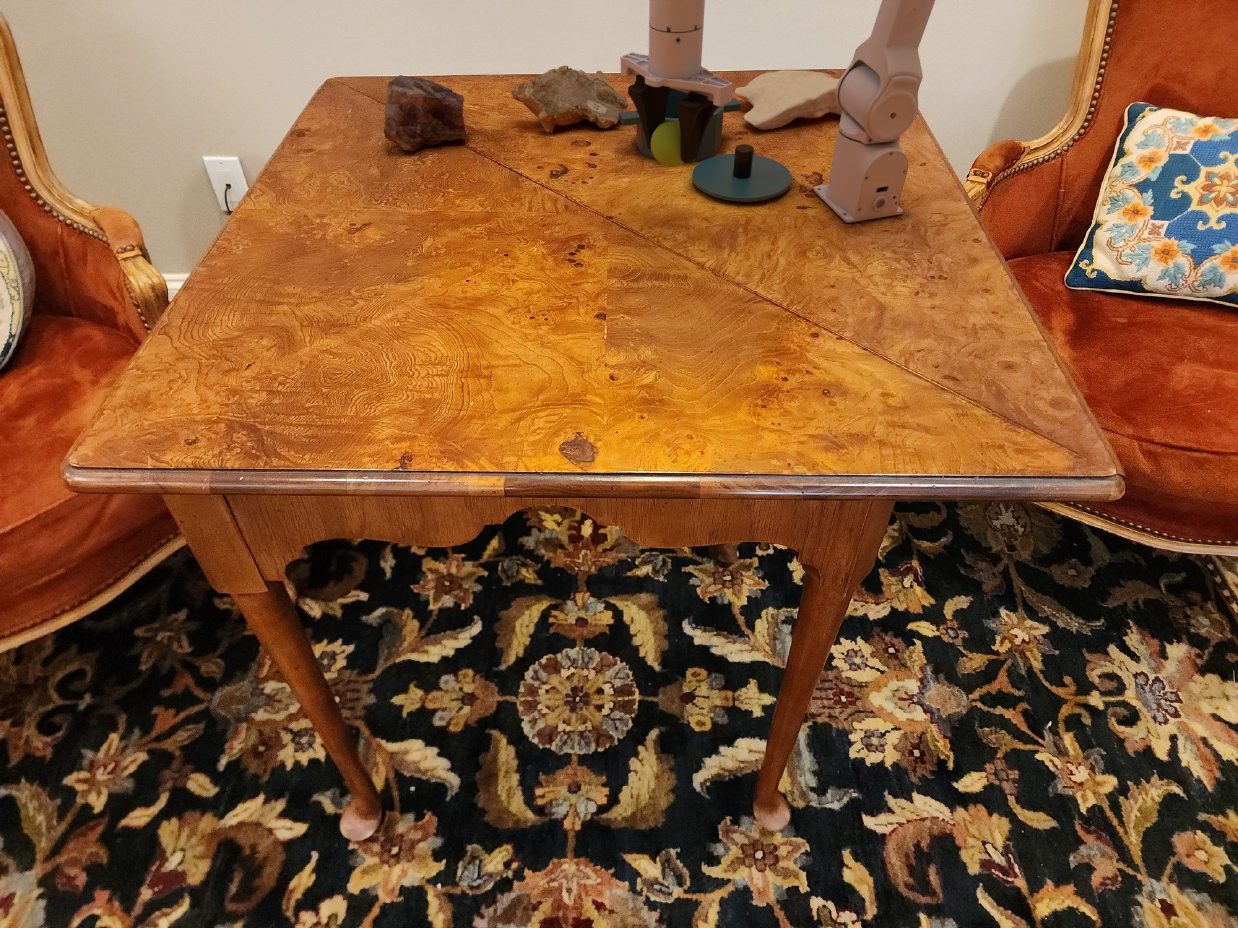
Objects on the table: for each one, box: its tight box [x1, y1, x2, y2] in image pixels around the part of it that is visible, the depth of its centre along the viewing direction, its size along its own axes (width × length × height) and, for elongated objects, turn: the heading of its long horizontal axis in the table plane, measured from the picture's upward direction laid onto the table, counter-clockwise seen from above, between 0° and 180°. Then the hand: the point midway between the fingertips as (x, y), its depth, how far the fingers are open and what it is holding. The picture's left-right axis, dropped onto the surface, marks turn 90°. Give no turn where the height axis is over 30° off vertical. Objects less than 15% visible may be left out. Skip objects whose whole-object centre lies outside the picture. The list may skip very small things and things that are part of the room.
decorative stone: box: [734, 69, 842, 131], centre depth 118 cm, size 21×5×15 cm
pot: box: [618, 88, 742, 164], centre depth 109 cm, size 12×18×6 cm
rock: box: [383, 74, 467, 152], centre depth 110 cm, size 12×9×10 cm
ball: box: [651, 120, 684, 168], centre depth 88 cm, size 5×5×5 cm
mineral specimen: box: [511, 64, 629, 133], centre depth 115 cm, size 13×7×15 cm
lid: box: [691, 143, 793, 203], centre depth 101 cm, size 13×13×5 cm
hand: (671, 152), depth 89 cm, fingers closed on ball, 5 cm apart
